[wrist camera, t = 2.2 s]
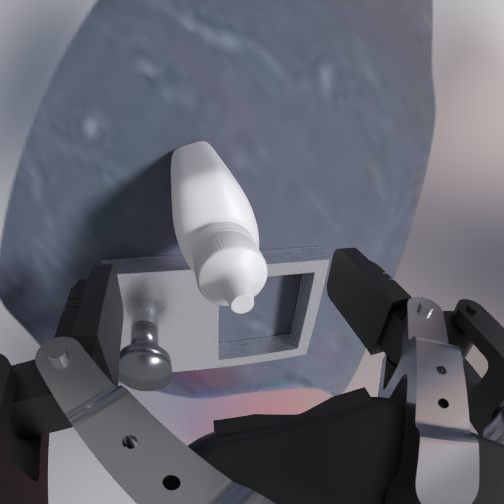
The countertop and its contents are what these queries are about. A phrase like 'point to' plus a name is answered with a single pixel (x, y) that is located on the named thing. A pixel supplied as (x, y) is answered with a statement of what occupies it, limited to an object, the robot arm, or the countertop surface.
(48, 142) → the countertop surface
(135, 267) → the bolt plate
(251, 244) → the eye dropper bottle
